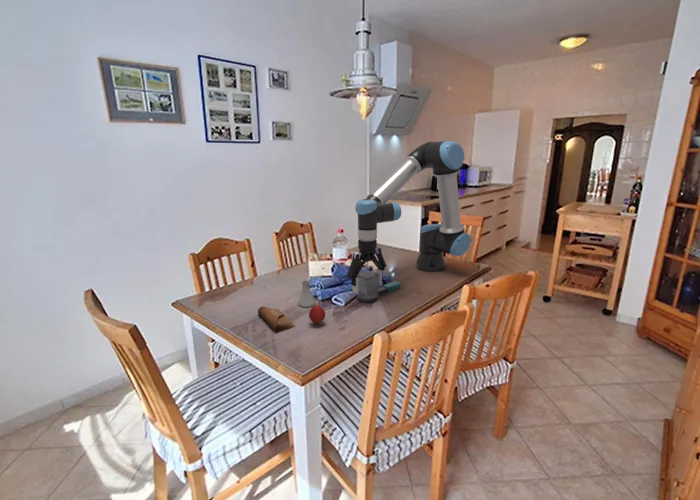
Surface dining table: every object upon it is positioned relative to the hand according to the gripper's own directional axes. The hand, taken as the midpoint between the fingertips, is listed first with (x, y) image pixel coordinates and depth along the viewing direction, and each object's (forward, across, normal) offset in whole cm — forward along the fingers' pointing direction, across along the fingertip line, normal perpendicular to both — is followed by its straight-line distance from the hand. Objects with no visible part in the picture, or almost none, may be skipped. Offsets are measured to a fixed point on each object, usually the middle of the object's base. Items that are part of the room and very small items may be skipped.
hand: (367, 288), depth 150 cm
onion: (+5, +29, +4) cm, 30 cm away
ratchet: (+5, -7, 0) cm, 9 cm away
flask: (+5, +22, -13) cm, 26 cm away
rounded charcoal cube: (+2, 0, 0) cm, 2 cm away
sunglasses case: (+5, +39, -8) cm, 40 cm away
